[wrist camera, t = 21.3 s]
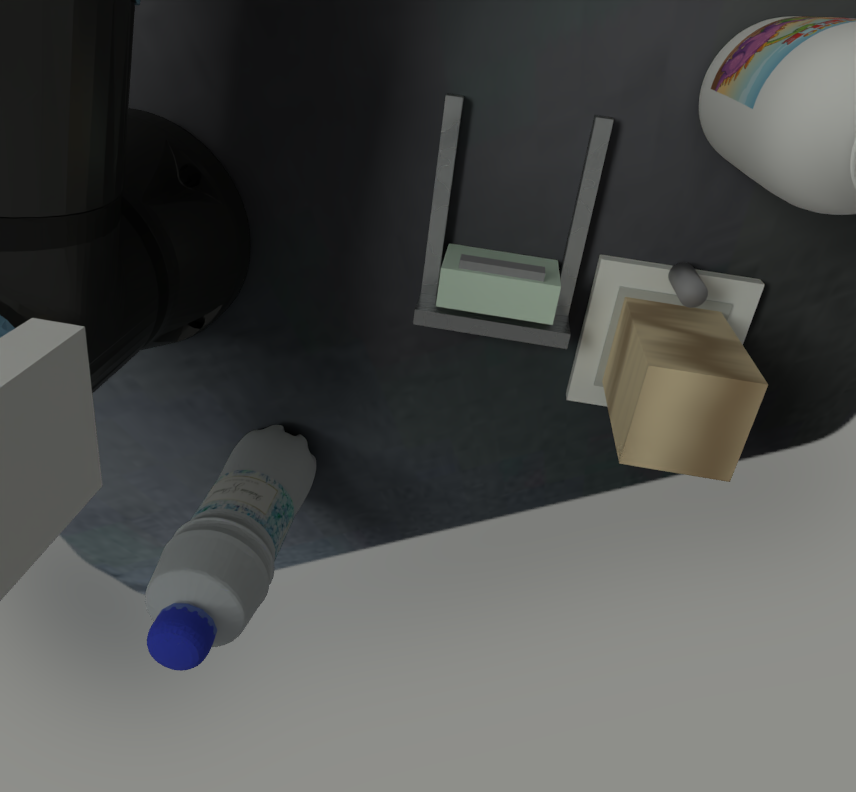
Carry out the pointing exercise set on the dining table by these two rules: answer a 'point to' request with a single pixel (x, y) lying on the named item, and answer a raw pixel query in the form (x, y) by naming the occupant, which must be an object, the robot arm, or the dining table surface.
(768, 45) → the milk bottle
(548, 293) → the cover
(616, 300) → the seat plate
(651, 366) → the block
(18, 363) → the robot arm
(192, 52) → the dining table surface
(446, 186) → the housing frame
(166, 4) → the dining table surface
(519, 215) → the dining table surface
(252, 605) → the bottle
